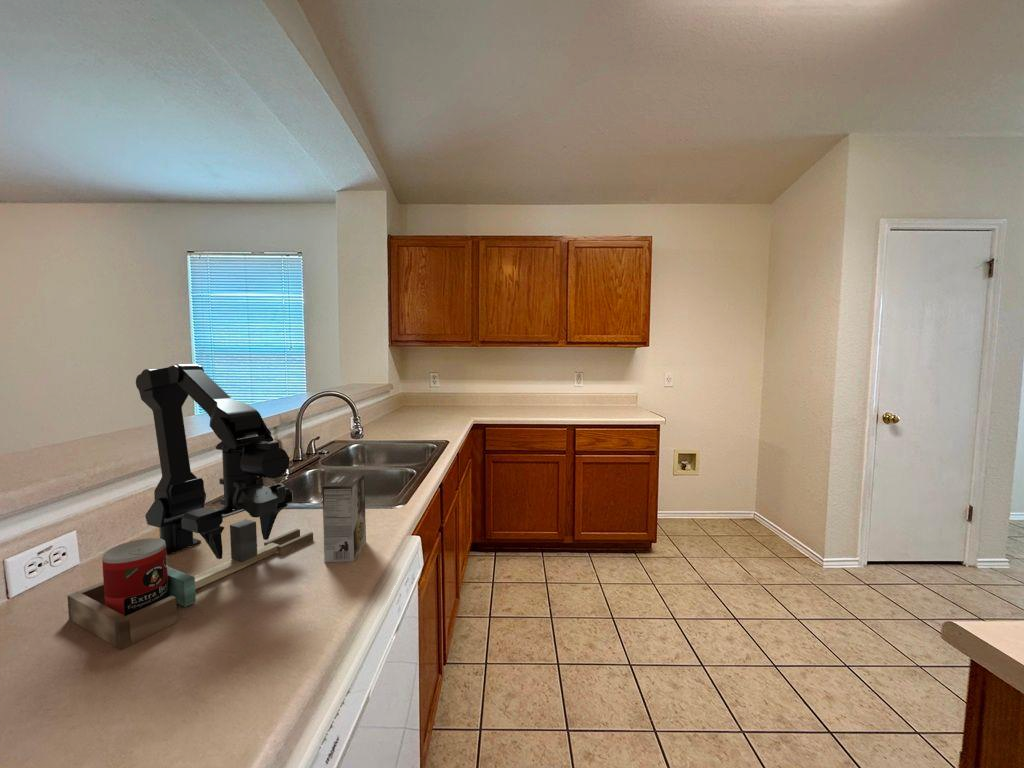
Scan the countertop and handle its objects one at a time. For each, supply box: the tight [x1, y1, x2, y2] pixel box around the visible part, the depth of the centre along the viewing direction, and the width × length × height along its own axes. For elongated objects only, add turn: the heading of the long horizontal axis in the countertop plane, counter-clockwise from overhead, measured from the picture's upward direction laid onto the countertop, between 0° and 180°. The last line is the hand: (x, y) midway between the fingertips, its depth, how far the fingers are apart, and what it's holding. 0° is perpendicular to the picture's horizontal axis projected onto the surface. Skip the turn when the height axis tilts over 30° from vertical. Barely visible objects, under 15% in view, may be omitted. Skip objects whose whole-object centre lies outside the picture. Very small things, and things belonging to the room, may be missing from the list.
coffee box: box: [321, 473, 367, 563], centre depth 88 cm, size 9×6×16 cm
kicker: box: [167, 518, 279, 608], centre depth 80 cm, size 11×20×8 cm, turn 155°
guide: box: [263, 528, 314, 556], centre depth 92 cm, size 5×8×2 cm
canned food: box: [101, 537, 169, 616], centre depth 67 cm, size 8×8×11 cm
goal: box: [66, 581, 178, 651], centre depth 65 cm, size 16×7×4 cm, turn 65°
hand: (243, 548), depth 83 cm, fingers open, 9 cm apart
